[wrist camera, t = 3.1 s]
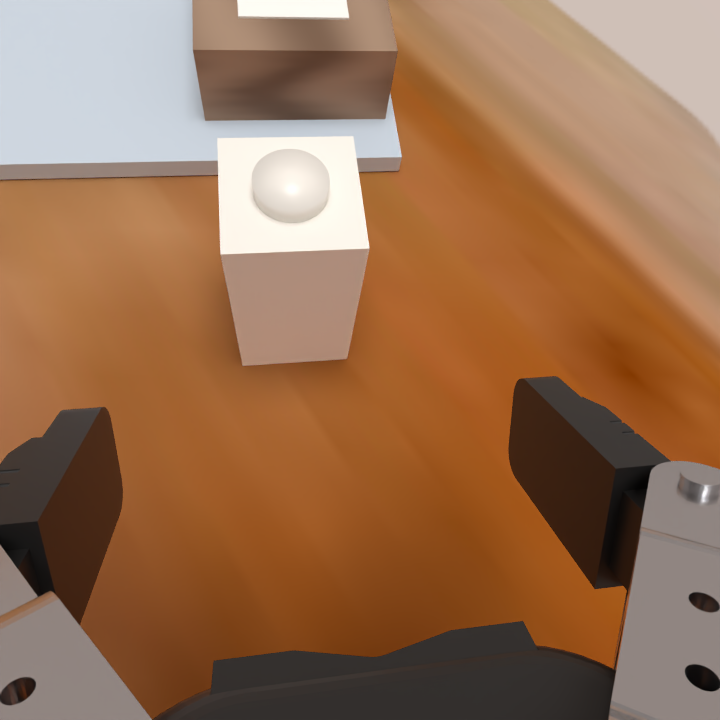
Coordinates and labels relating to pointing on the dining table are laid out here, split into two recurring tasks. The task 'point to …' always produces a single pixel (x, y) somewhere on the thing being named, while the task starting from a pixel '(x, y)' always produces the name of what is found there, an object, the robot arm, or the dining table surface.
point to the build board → (188, 82)
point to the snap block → (292, 245)
